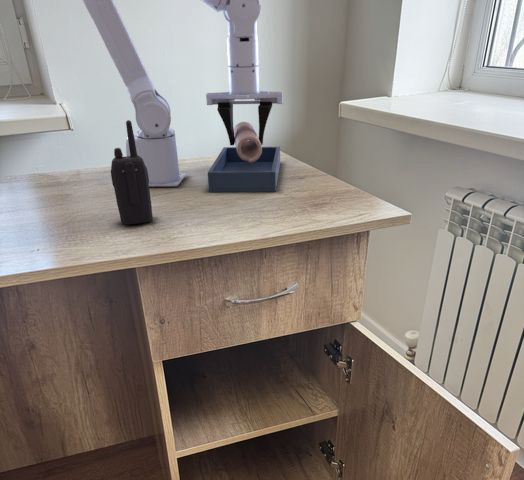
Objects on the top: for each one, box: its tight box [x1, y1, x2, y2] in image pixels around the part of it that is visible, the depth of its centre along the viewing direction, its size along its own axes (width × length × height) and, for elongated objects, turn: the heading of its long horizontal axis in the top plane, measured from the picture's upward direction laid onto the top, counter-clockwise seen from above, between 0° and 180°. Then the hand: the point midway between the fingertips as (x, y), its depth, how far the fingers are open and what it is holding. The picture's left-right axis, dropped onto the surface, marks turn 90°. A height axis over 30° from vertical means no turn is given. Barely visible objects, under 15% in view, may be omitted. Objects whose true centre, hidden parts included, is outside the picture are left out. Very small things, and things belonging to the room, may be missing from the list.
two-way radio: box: [110, 119, 153, 226], centre depth 76 cm, size 6×4×15 cm
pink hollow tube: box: [233, 121, 263, 163], centre depth 99 cm, size 5×5×18 cm
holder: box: [207, 146, 281, 193], centre depth 102 cm, size 13×23×4 cm, turn 176°
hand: (246, 144), depth 99 cm, fingers closed on pink hollow tube, 5 cm apart
